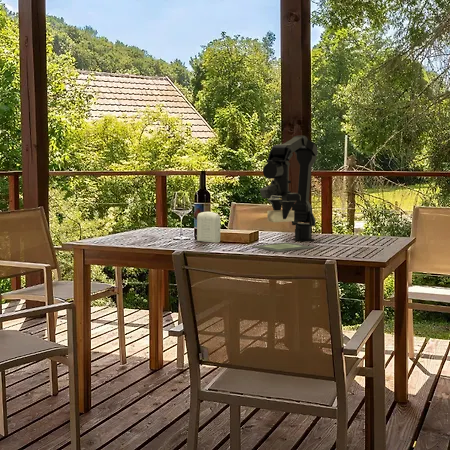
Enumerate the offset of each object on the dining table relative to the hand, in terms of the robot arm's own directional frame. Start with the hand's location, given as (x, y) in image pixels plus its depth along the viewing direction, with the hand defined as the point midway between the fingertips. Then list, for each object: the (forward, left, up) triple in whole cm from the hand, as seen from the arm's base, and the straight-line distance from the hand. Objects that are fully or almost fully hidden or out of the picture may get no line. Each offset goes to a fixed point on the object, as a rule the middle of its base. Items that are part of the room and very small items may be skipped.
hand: (280, 218), depth 269 cm
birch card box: (0, 0, -1) cm, 1 cm away
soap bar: (+13, -30, -11) cm, 34 cm away
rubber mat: (0, +1, -11) cm, 11 cm away
